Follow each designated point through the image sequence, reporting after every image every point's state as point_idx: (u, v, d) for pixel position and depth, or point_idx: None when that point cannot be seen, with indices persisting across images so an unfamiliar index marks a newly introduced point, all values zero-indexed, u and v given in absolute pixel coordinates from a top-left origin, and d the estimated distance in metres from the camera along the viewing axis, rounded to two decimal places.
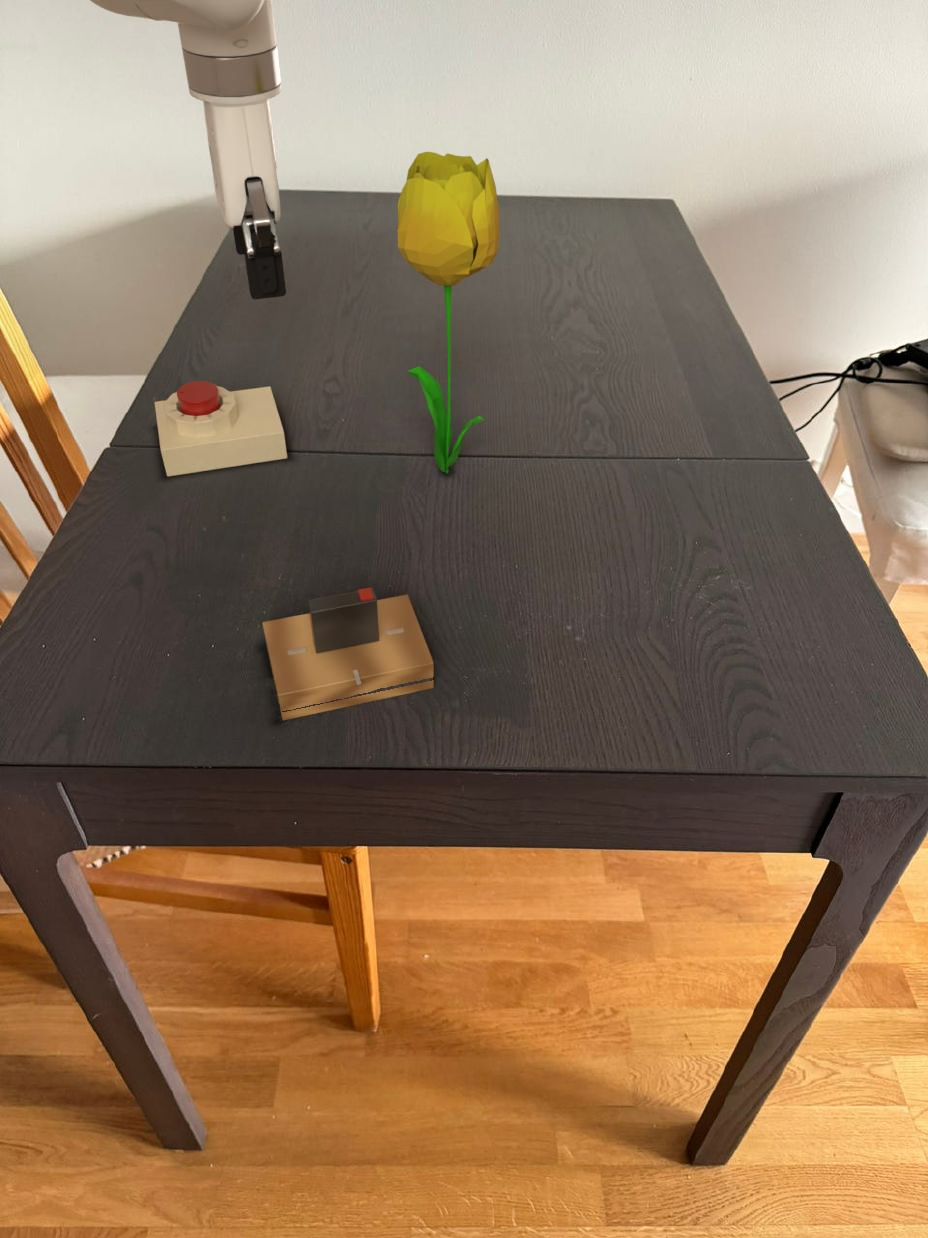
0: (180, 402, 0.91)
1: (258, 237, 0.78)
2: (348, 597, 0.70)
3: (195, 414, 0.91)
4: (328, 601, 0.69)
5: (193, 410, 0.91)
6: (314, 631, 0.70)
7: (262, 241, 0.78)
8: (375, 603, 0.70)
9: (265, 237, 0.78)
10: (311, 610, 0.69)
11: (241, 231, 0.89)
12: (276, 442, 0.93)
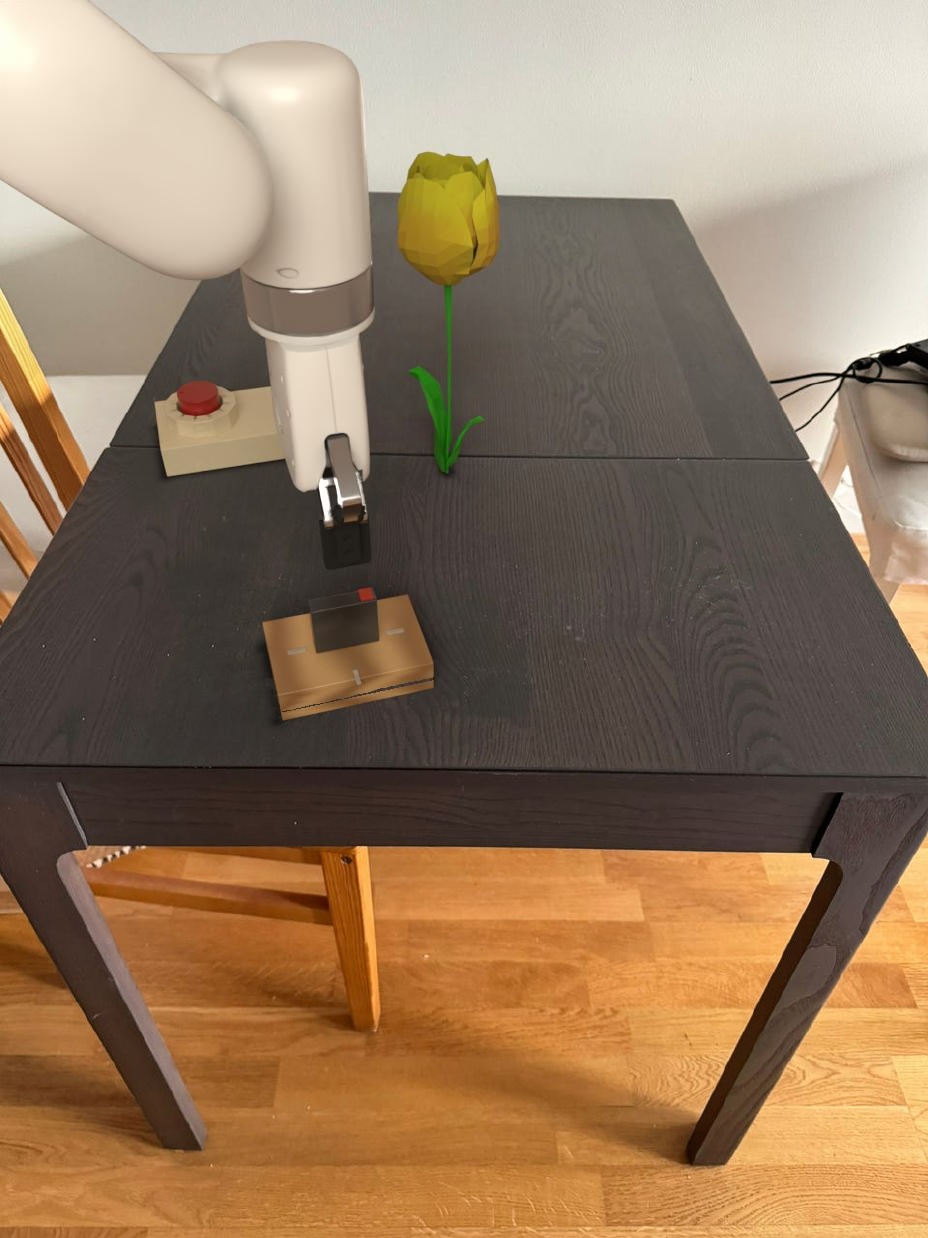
0: (180, 402, 0.91)
1: (343, 515, 0.56)
2: (348, 597, 0.70)
3: (195, 414, 0.91)
4: (328, 601, 0.69)
5: (193, 410, 0.91)
6: (314, 631, 0.70)
7: (348, 518, 0.57)
8: (375, 603, 0.70)
9: (353, 514, 0.56)
10: (311, 610, 0.69)
11: None
12: (276, 442, 0.93)
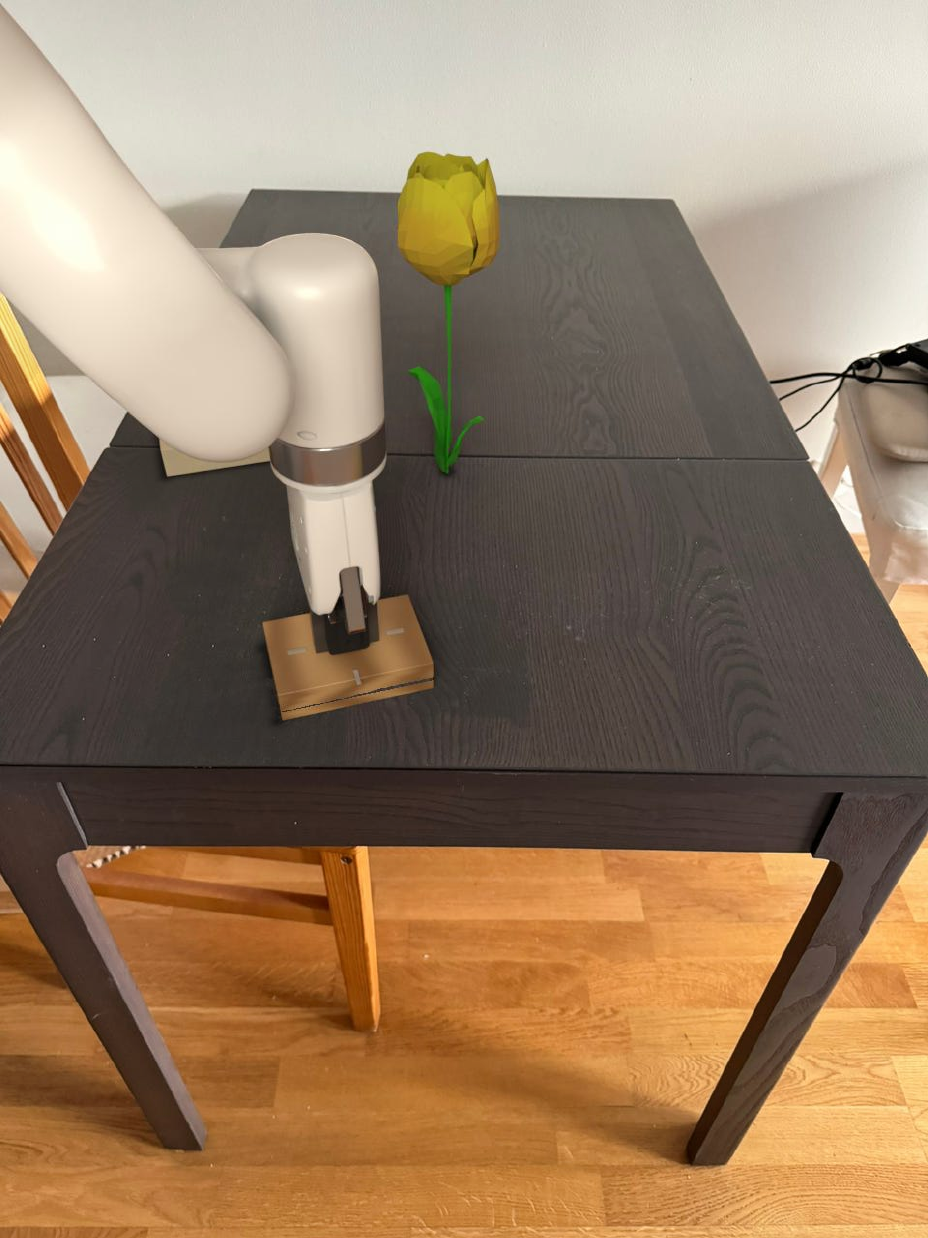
0: None
1: (346, 626, 0.65)
2: None
3: None
4: None
5: None
6: (314, 631, 0.70)
7: None
8: (375, 603, 0.70)
9: None
10: (311, 610, 0.69)
11: None
12: None
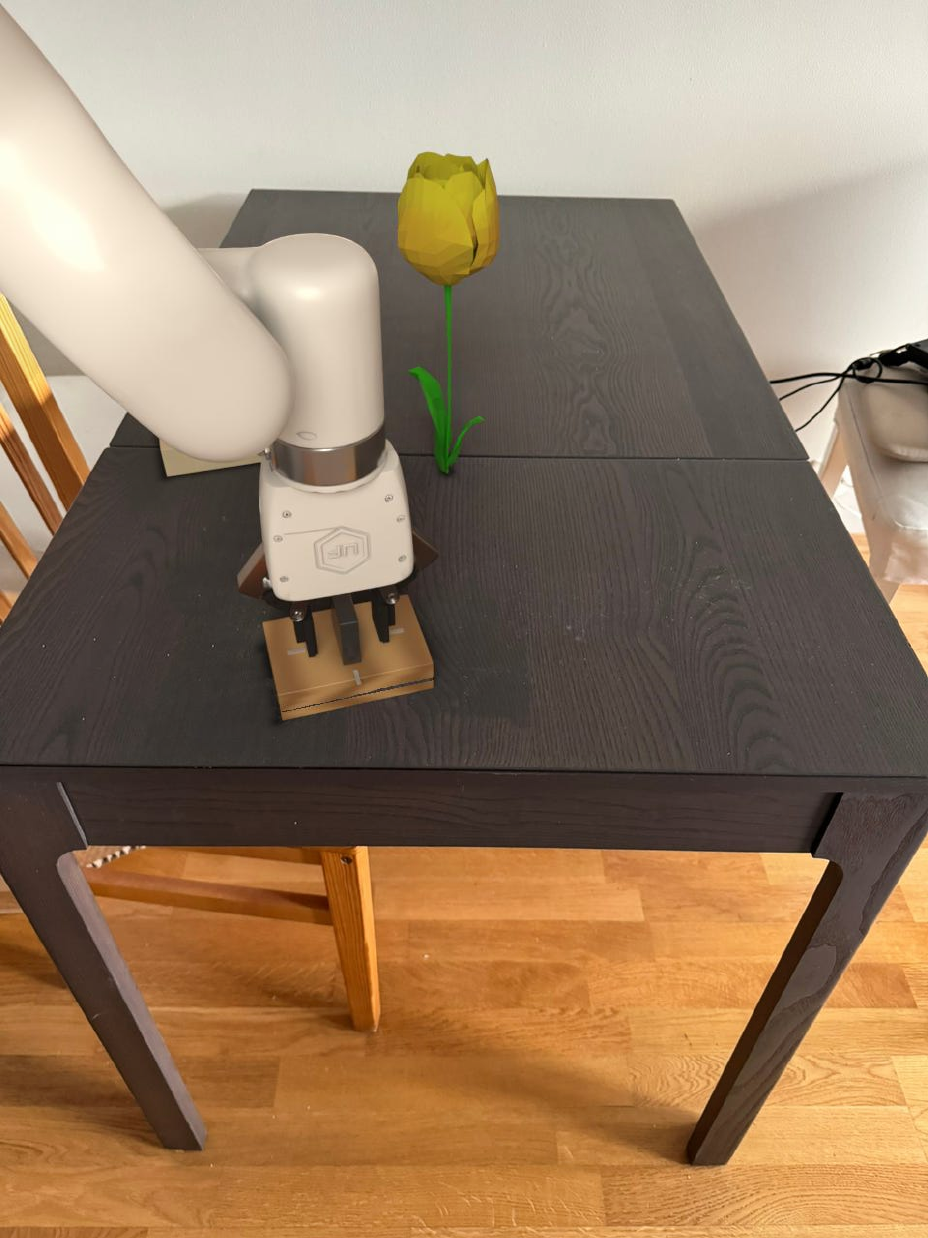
0: None
1: (424, 567, 0.69)
2: (338, 595, 0.70)
3: None
4: (343, 609, 0.69)
5: None
6: (359, 639, 0.69)
7: (417, 569, 0.69)
8: None
9: None
10: (354, 621, 0.68)
11: None
12: None
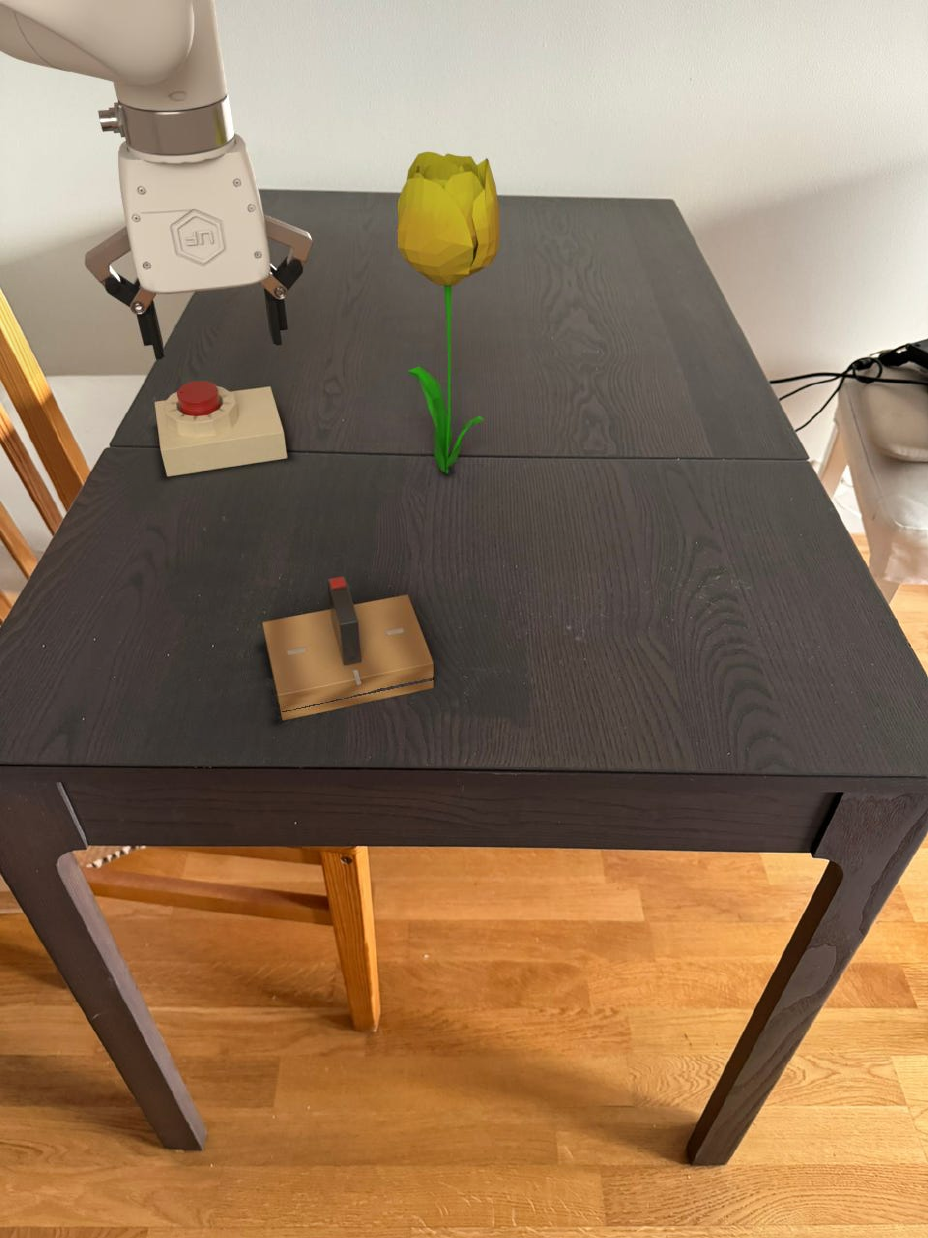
0: (180, 402, 0.91)
1: None
2: (338, 595, 0.70)
3: (195, 414, 0.91)
4: (343, 609, 0.69)
5: (193, 410, 0.91)
6: (359, 639, 0.69)
7: None
8: (345, 581, 0.71)
9: None
10: (354, 621, 0.68)
11: (158, 330, 0.75)
12: (276, 442, 0.93)
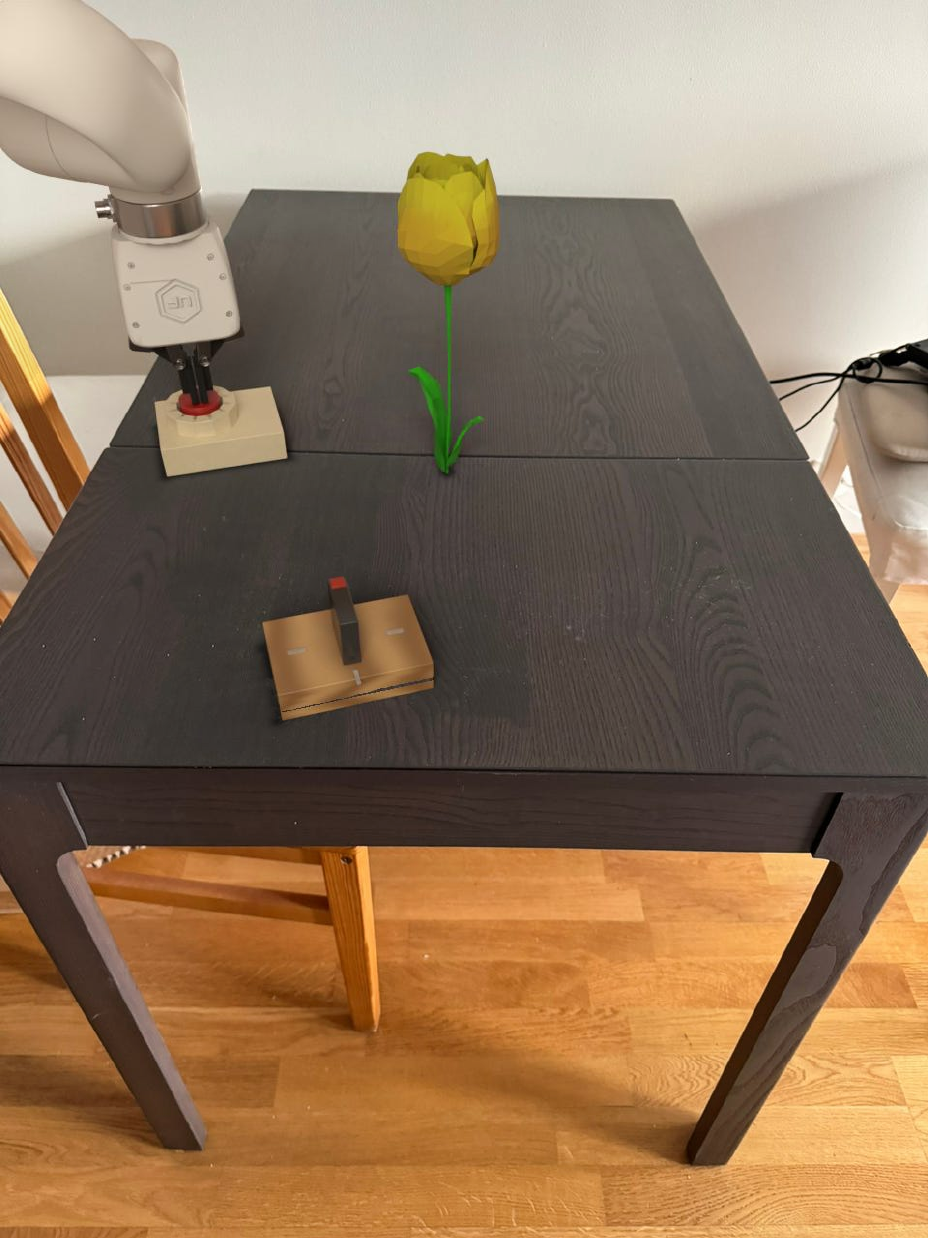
0: (181, 408, 0.92)
1: (229, 341, 0.89)
2: (338, 595, 0.70)
3: None
4: (343, 609, 0.69)
5: None
6: (359, 639, 0.69)
7: (224, 342, 0.89)
8: (345, 581, 0.71)
9: None
10: (354, 621, 0.68)
11: None
12: (276, 442, 0.93)
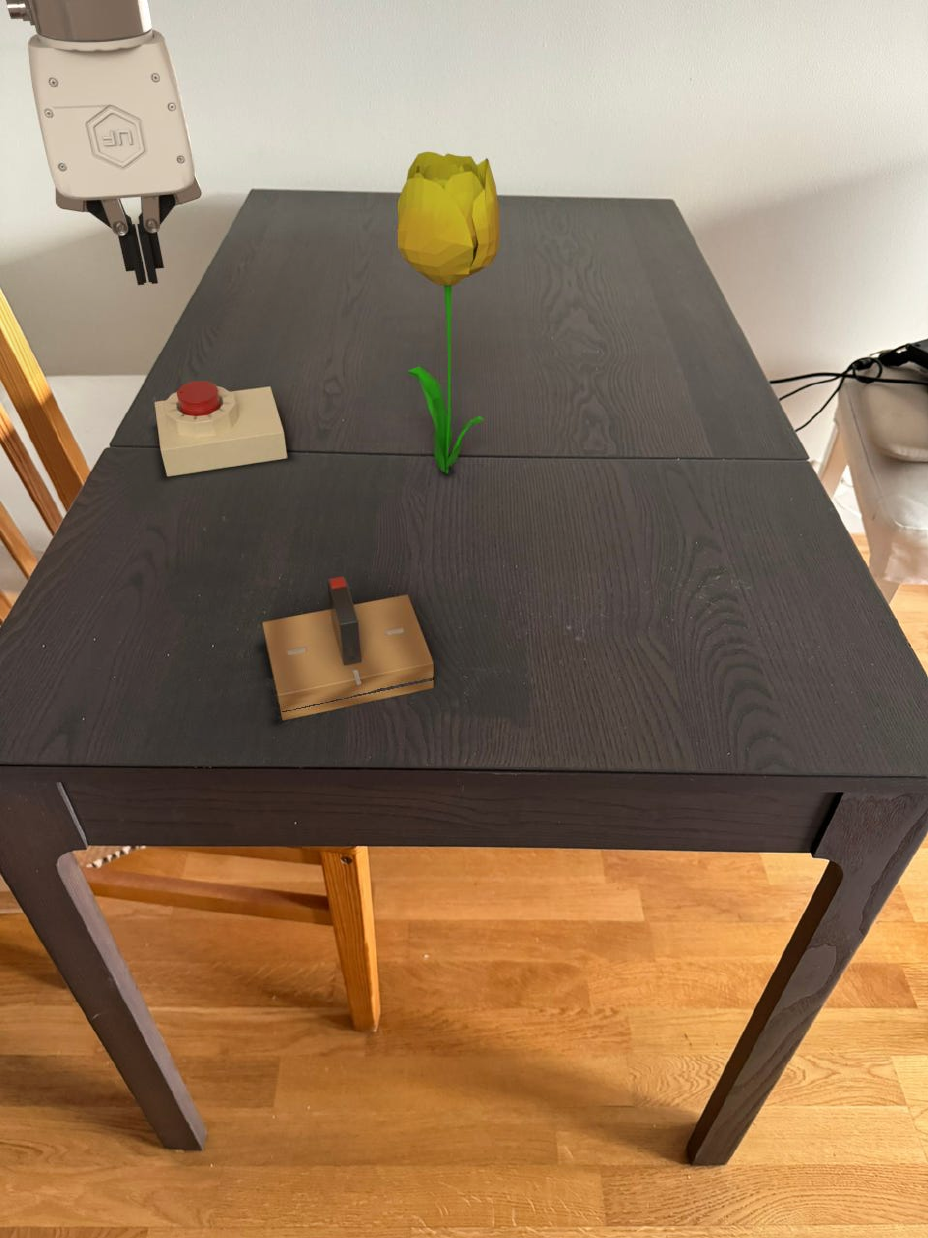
0: (180, 402, 0.91)
1: (183, 203, 0.72)
2: (338, 595, 0.70)
3: (195, 414, 0.91)
4: (343, 609, 0.69)
5: (193, 410, 0.91)
6: (359, 639, 0.69)
7: (176, 204, 0.72)
8: (345, 581, 0.71)
9: None
10: (354, 621, 0.68)
11: (140, 253, 0.73)
12: (276, 442, 0.93)
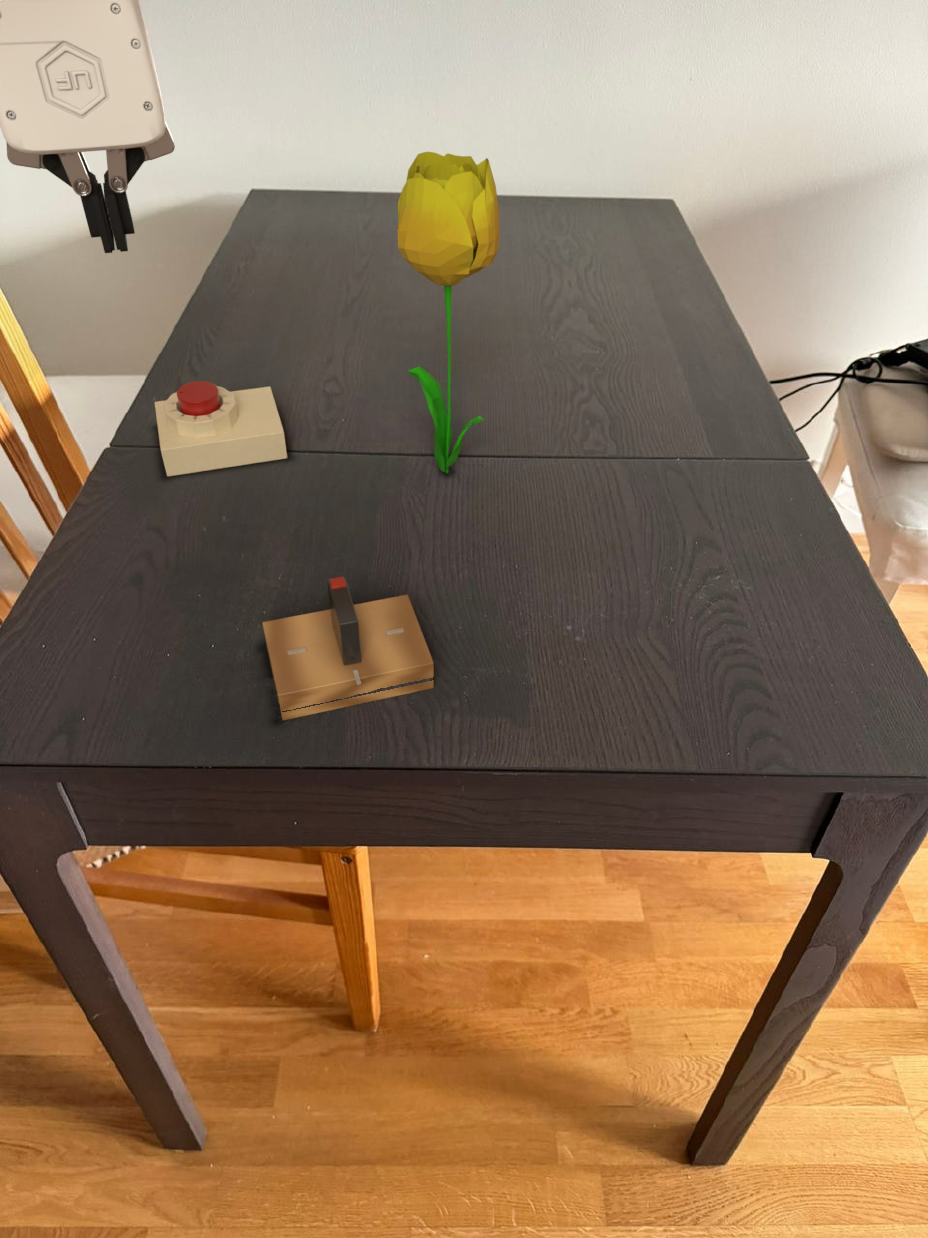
0: (180, 402, 0.91)
1: (154, 158, 0.64)
2: (338, 595, 0.70)
3: (195, 414, 0.91)
4: (343, 609, 0.69)
5: (193, 410, 0.91)
6: (359, 639, 0.69)
7: None
8: (345, 581, 0.71)
9: None
10: (354, 621, 0.68)
11: (107, 217, 0.65)
12: (276, 442, 0.93)
